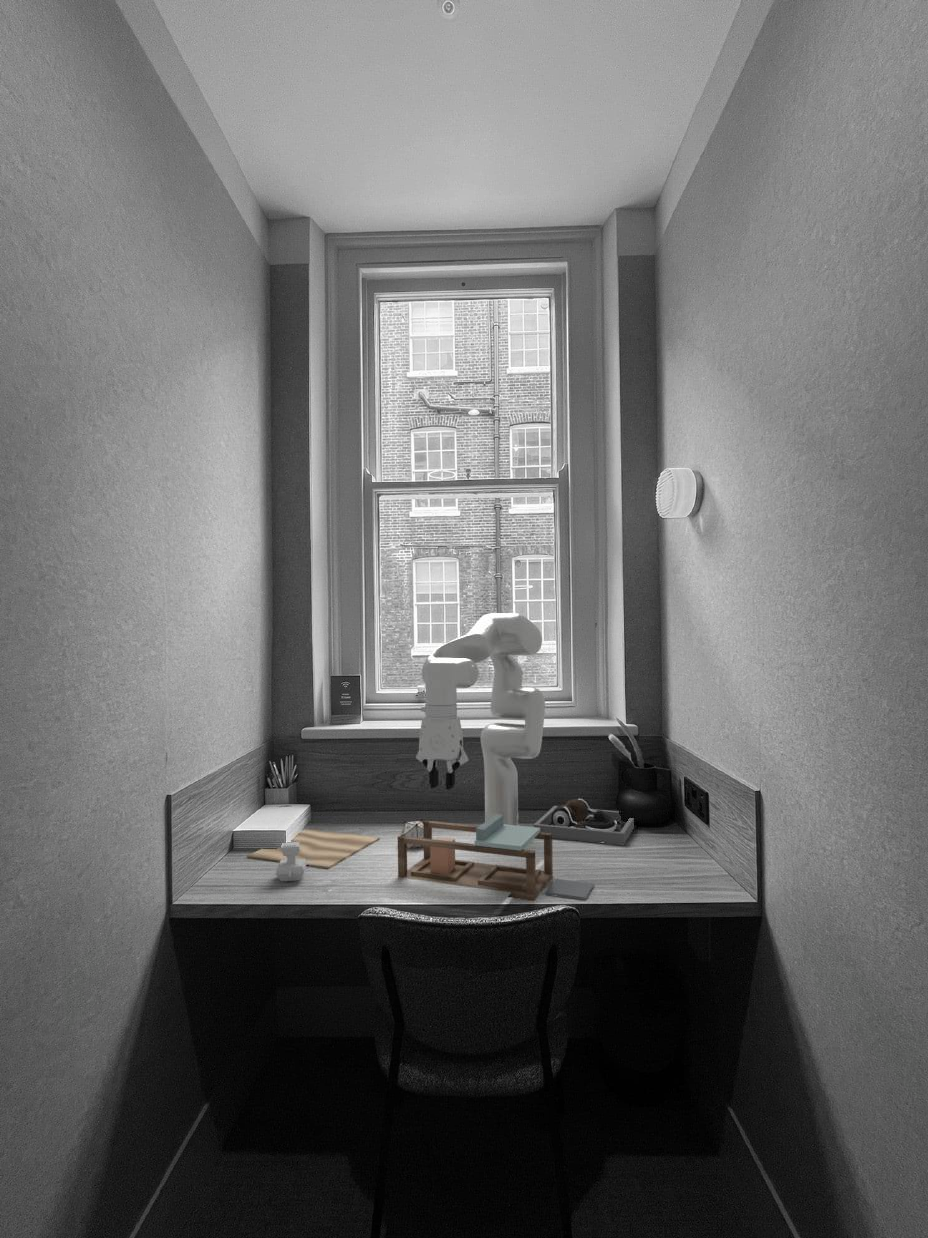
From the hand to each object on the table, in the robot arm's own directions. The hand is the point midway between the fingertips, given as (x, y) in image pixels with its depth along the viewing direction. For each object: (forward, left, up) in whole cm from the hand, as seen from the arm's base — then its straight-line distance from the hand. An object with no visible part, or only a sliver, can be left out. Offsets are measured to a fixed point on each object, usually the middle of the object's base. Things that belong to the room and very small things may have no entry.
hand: (442, 787), depth 174 cm
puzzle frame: (0, +8, -21) cm, 23 cm away
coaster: (-1, +31, -21) cm, 38 cm away
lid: (0, +17, -11) cm, 20 cm away
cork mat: (-7, -41, -21) cm, 47 cm away
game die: (-15, -15, -21) cm, 30 cm away
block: (0, 0, -20) cm, 20 cm away
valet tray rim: (-49, +24, -21) cm, 59 cm away
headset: (-50, +24, -22) cm, 59 cm away
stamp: (+15, -33, -22) cm, 42 cm away
